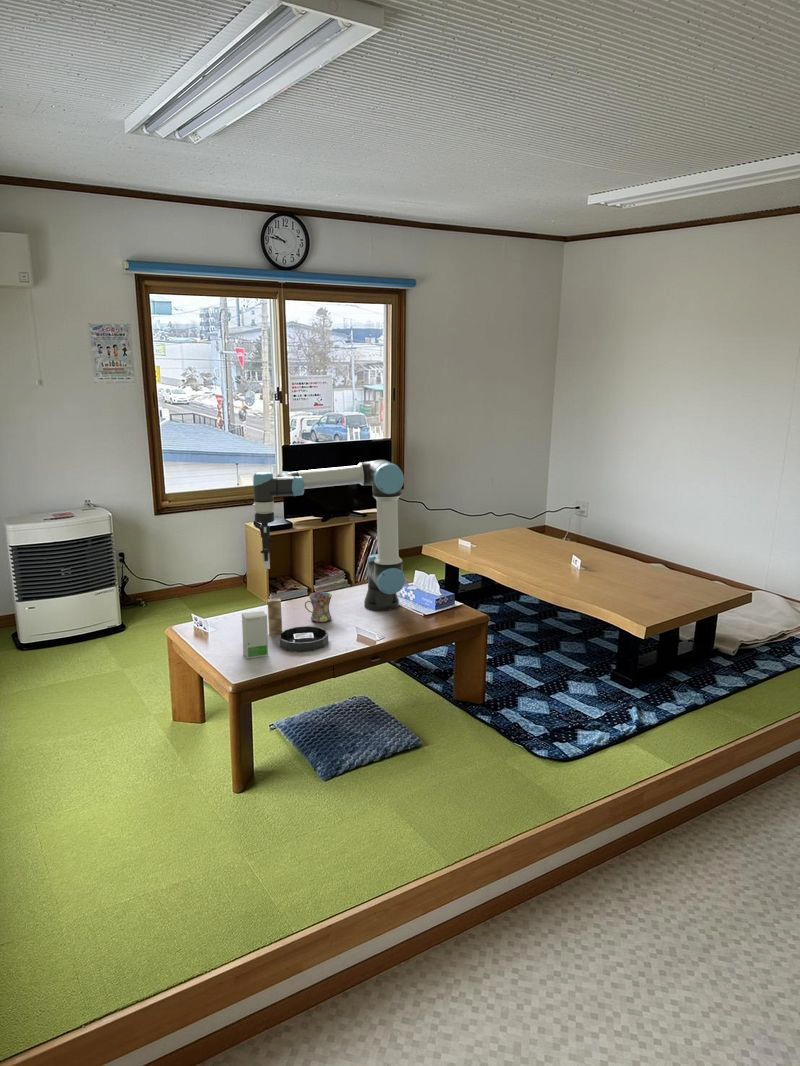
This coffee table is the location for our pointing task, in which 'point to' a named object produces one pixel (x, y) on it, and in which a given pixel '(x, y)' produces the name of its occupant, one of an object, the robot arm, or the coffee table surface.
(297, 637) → the wick clip
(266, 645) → the skincare box
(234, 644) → the coffee table surface
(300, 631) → the dark grey round tray
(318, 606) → the mug
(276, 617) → the brown cardboard box
